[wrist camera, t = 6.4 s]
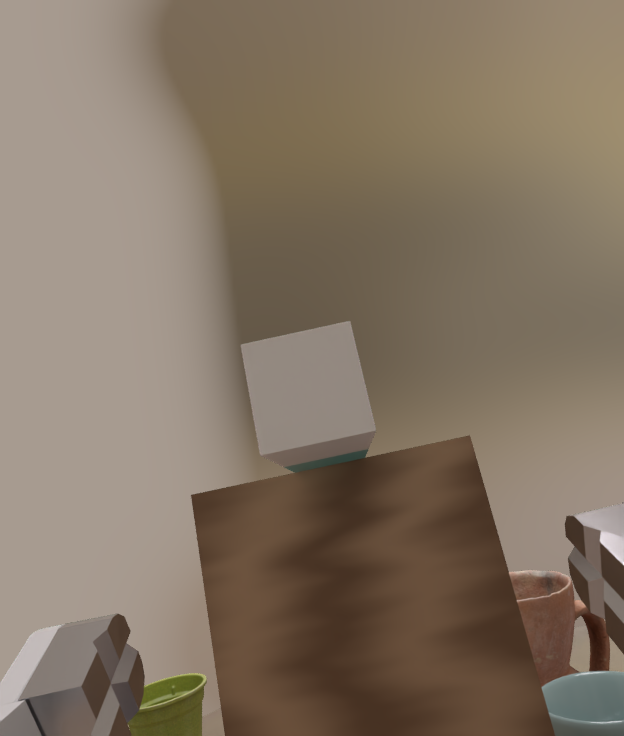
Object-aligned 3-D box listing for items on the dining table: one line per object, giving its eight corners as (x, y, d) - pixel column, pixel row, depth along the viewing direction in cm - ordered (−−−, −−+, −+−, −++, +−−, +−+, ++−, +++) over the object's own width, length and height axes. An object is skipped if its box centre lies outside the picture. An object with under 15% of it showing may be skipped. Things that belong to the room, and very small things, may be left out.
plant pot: (224, 780, 53) (211, 686, 55) (126, 818, 49) (116, 716, 52) (212, 747, 61) (201, 667, 63) (128, 777, 58) (119, 692, 60)
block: (358, 472, 34) (348, 428, 35) (376, 430, 13) (349, 320, 14) (314, 482, 34) (305, 437, 35) (260, 455, 13) (240, 344, 14)
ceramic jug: (495, 836, 36) (446, 619, 40) (423, 748, 50) (391, 593, 54) (707, 764, 40) (645, 570, 43) (585, 701, 54) (545, 557, 57)
